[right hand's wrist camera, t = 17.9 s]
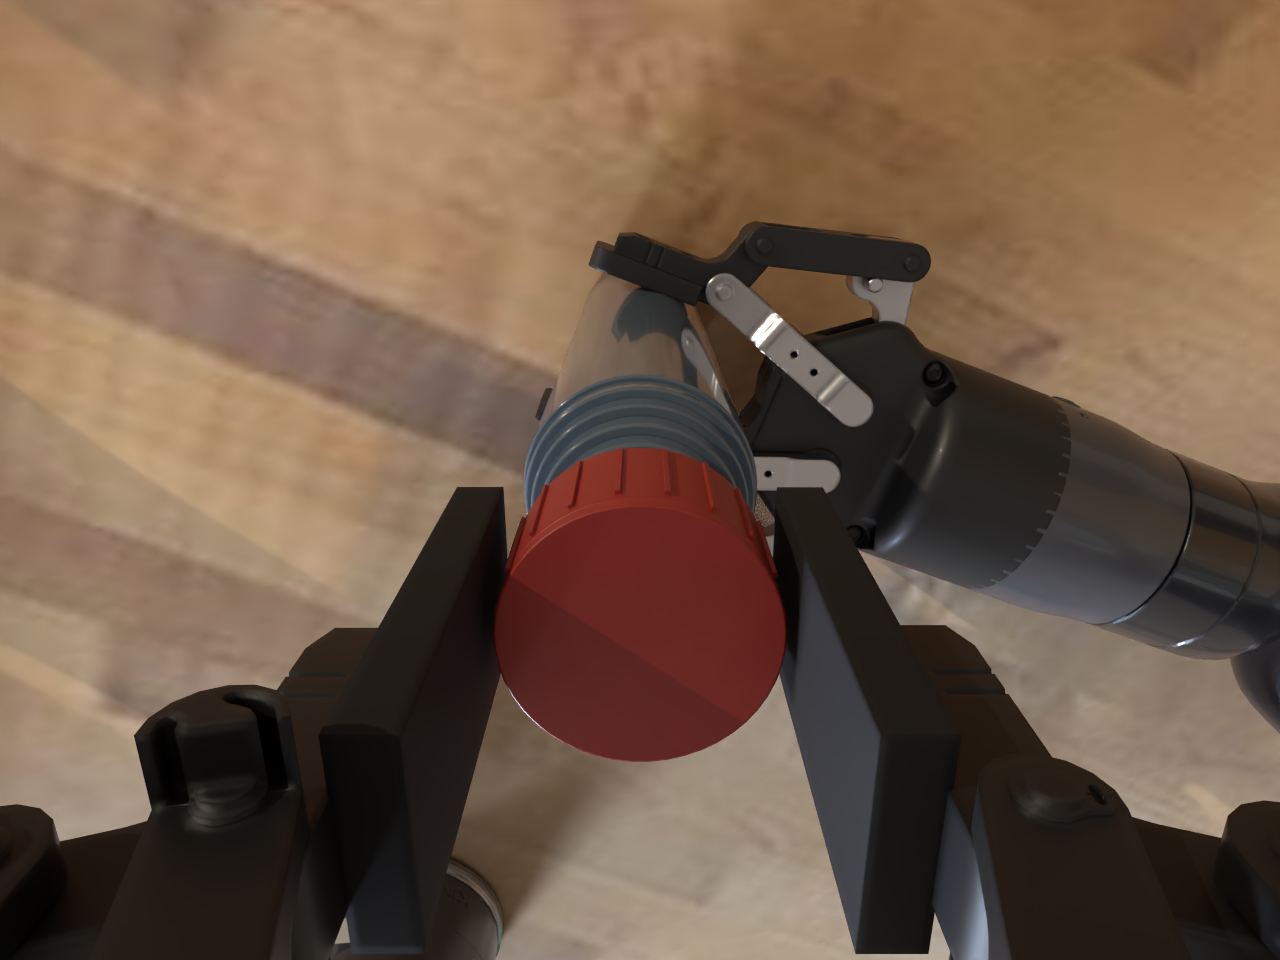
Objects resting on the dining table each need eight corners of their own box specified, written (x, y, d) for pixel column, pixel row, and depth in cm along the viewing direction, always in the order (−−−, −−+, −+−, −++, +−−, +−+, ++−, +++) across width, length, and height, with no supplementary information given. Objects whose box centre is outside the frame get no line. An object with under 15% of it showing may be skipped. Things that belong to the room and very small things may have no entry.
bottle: (563, 349, 36) (427, 680, 13) (613, 243, 35) (561, 406, 12) (665, 399, 37) (706, 796, 14) (719, 298, 36) (866, 553, 12)
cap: (764, 434, 14) (791, 492, 11) (768, 665, 15) (792, 757, 13) (500, 451, 14) (471, 511, 12) (529, 679, 15) (508, 773, 13)
